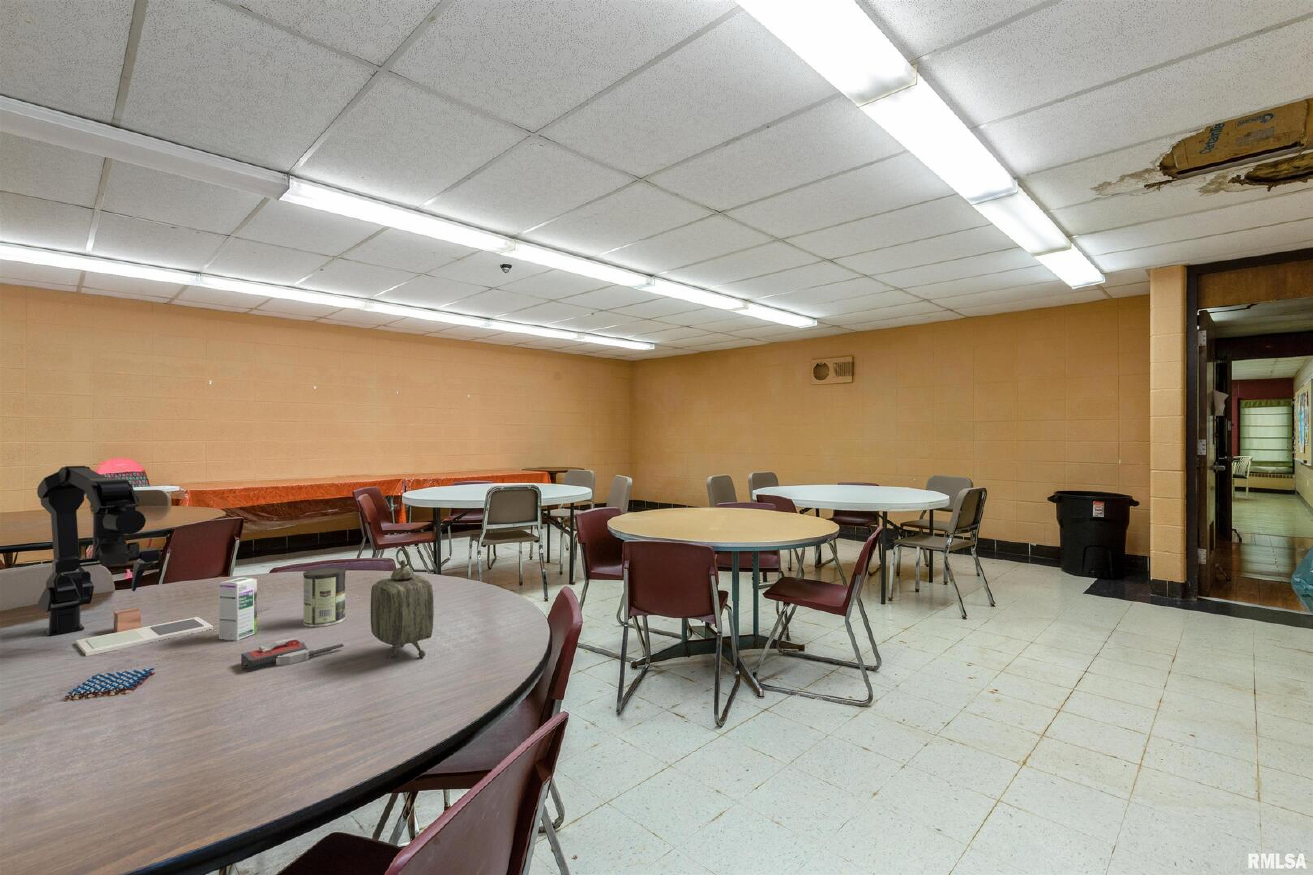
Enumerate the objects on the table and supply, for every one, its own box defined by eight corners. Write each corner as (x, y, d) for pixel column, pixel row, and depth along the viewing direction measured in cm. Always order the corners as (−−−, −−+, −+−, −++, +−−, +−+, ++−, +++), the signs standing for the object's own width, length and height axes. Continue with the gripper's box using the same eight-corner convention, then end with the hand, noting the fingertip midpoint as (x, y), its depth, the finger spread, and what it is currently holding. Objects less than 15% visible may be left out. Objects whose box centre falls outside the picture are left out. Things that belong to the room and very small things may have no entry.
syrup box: (237, 641, 142) (237, 583, 142) (217, 639, 143) (218, 581, 143) (257, 633, 148) (258, 577, 148) (238, 632, 149) (239, 576, 149)
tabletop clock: (433, 657, 132) (434, 550, 133) (393, 668, 126) (394, 555, 126) (406, 642, 142) (407, 542, 142) (368, 651, 136) (369, 546, 136)
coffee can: (333, 613, 165) (333, 564, 165) (352, 619, 160) (353, 569, 160) (295, 622, 157) (295, 571, 157) (314, 629, 151) (315, 576, 151)
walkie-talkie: (245, 678, 121) (345, 651, 137) (246, 657, 121) (345, 633, 137) (233, 667, 127) (330, 643, 142) (234, 647, 127) (330, 625, 142)
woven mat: (93, 682, 119) (93, 672, 119) (156, 675, 122) (156, 666, 122) (61, 704, 109) (61, 693, 109) (131, 696, 113) (131, 685, 113)
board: (75, 643, 139) (75, 639, 139) (197, 619, 158) (197, 616, 158) (86, 656, 131) (86, 651, 131) (213, 629, 151) (213, 625, 151)
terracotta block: (113, 630, 149) (114, 611, 149) (136, 626, 153) (136, 607, 153) (117, 634, 146) (117, 615, 146) (140, 630, 150) (141, 611, 150)
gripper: (59, 539, 127) (58, 609, 127) (167, 529, 142) (166, 592, 142) (52, 534, 134) (51, 601, 134) (155, 525, 149) (155, 585, 148)
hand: (108, 594), depth 139 cm, fingers open, 9 cm apart
